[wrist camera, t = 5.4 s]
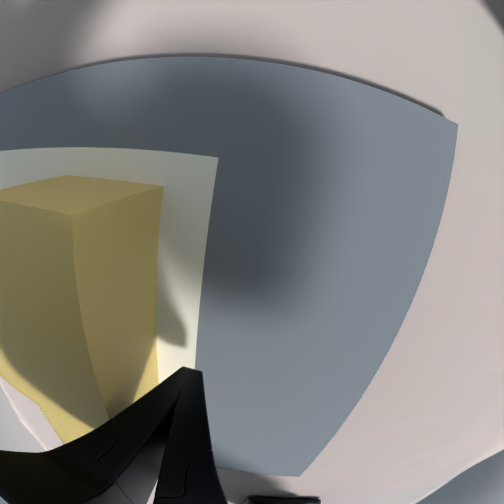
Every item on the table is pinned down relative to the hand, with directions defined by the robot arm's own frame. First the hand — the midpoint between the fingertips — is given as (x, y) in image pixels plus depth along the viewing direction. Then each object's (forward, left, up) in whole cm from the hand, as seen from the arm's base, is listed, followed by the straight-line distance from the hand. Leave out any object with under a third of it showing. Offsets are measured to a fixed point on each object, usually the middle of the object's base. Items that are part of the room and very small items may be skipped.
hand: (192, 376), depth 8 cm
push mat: (0, +4, -2) cm, 4 cm away
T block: (0, +7, -1) cm, 7 cm away
